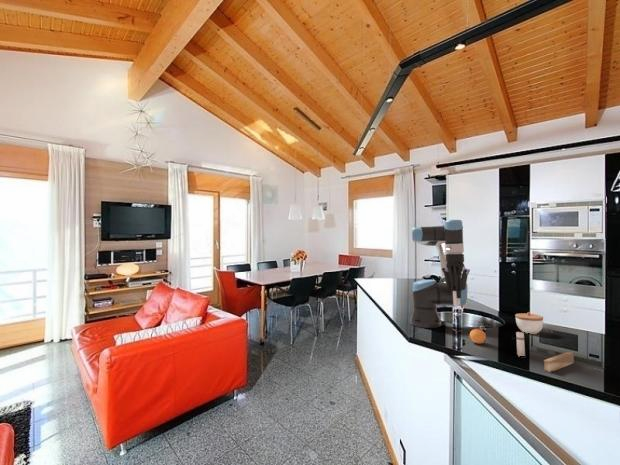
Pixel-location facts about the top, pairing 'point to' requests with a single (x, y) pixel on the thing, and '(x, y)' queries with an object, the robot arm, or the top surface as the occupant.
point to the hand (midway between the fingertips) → (456, 305)
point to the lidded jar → (529, 322)
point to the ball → (477, 336)
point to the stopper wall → (558, 361)
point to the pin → (520, 344)
